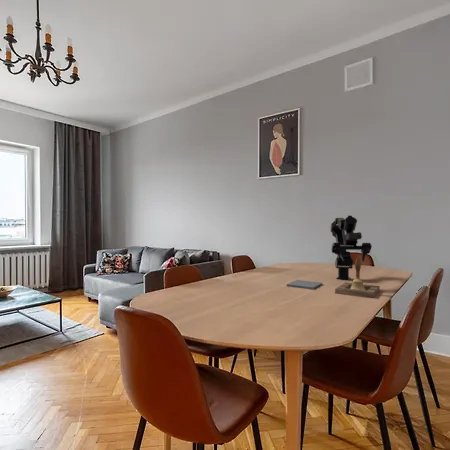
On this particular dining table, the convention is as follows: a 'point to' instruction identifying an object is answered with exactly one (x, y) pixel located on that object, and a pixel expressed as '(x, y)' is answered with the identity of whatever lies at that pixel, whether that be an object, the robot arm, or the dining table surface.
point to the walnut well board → (345, 290)
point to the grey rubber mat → (304, 284)
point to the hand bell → (357, 277)
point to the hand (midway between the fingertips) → (353, 260)
